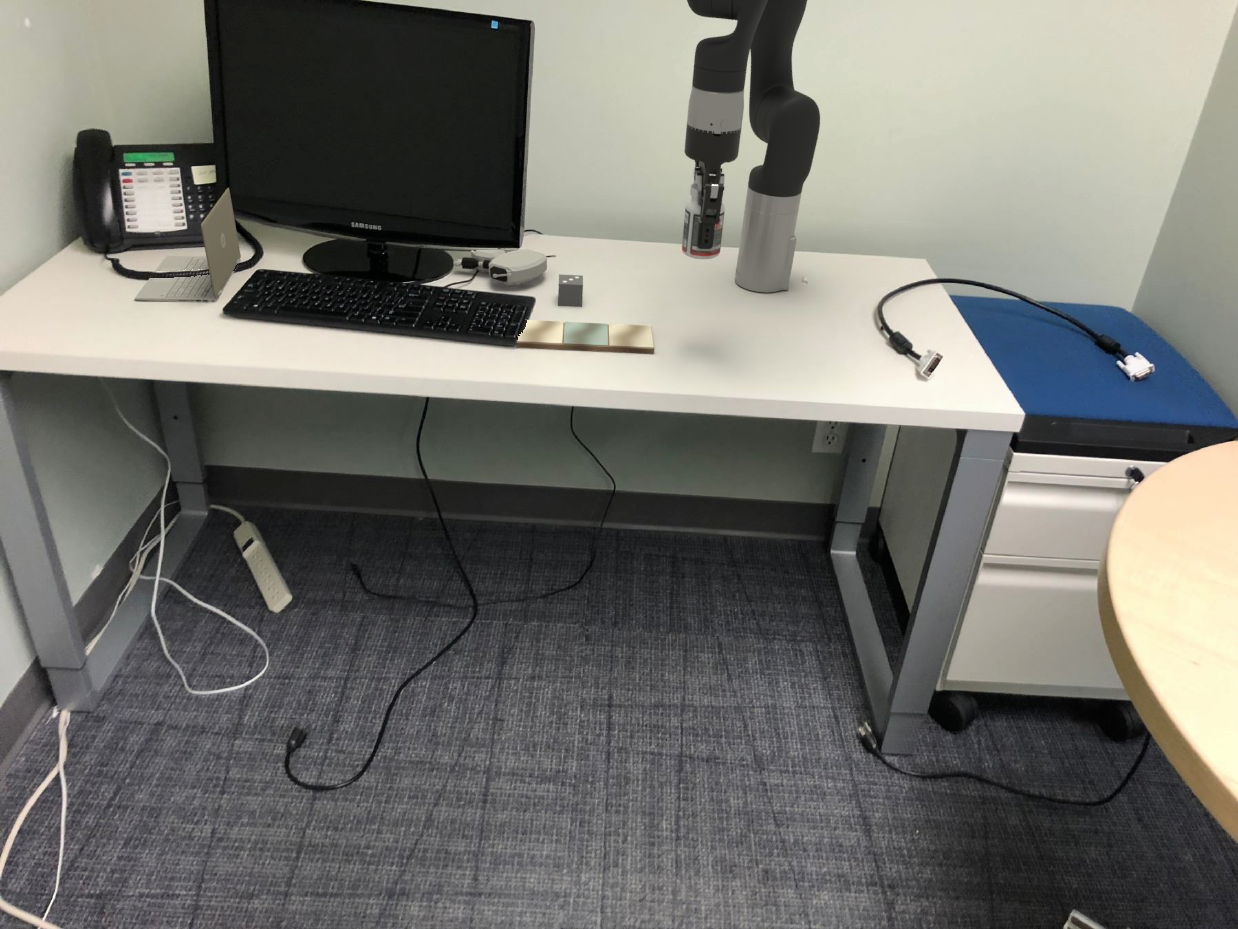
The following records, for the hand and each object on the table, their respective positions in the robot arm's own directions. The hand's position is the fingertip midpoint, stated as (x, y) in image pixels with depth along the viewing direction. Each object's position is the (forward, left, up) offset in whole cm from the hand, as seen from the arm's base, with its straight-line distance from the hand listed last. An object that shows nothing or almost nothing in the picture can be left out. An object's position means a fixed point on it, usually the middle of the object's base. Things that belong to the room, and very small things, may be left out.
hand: (702, 239), depth 138 cm
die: (+19, -14, -17) cm, 29 cm away
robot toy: (+31, -24, -18) cm, 43 cm away
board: (+16, 0, -17) cm, 24 cm away
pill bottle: (0, 0, -2) cm, 2 cm away
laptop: (+82, -16, -18) cm, 85 cm away
